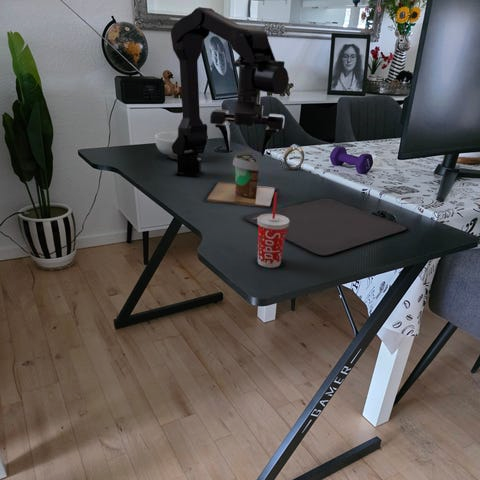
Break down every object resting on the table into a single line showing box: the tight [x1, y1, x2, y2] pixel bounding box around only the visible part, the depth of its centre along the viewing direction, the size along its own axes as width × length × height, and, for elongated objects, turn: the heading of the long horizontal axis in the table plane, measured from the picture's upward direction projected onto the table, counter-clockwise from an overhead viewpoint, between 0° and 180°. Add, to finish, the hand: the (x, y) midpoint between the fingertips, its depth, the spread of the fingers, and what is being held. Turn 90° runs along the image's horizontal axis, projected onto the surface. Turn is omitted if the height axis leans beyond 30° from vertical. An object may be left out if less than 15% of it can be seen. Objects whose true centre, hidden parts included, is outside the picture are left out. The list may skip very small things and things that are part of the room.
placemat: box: [206, 181, 276, 209], centre depth 126 cm, size 17×17×1 cm
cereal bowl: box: [154, 130, 178, 160], centre depth 156 cm, size 17×17×7 cm
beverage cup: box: [257, 192, 290, 269], centre depth 86 cm, size 6×6×14 cm
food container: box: [232, 151, 260, 199], centre depth 123 cm, size 12×6×10 cm, turn 8°
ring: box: [283, 143, 305, 170], centre depth 151 cm, size 7×3×8 cm, turn 100°
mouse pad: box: [244, 198, 407, 257], centre depth 110 cm, size 32×27×1 cm
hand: (245, 153), depth 120 cm, fingers open, 9 cm apart
